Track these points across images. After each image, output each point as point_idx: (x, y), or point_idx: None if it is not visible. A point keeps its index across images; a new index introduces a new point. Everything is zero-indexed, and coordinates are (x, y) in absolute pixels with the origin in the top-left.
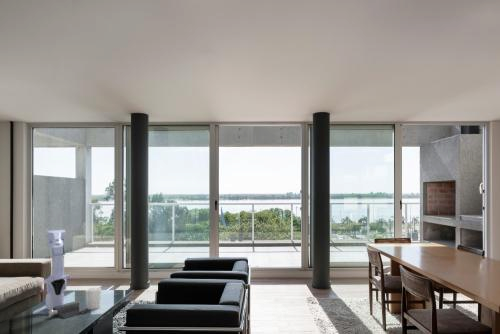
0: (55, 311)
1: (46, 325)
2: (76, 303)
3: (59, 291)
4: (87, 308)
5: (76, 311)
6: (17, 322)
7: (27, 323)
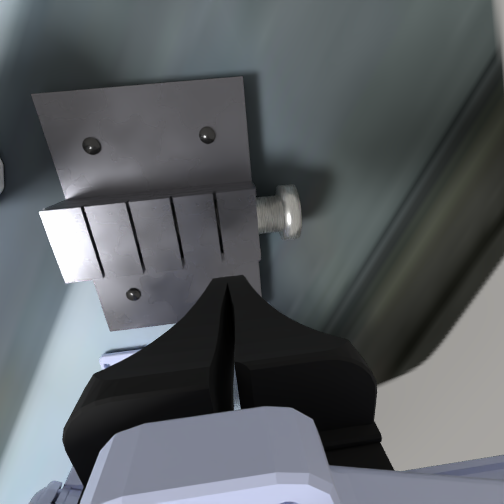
0: (265, 202)
1: (408, 36)
2: (68, 207)
3: (226, 293)
4: (2, 174)
5: (119, 120)
6: (417, 296)
7: (414, 224)
